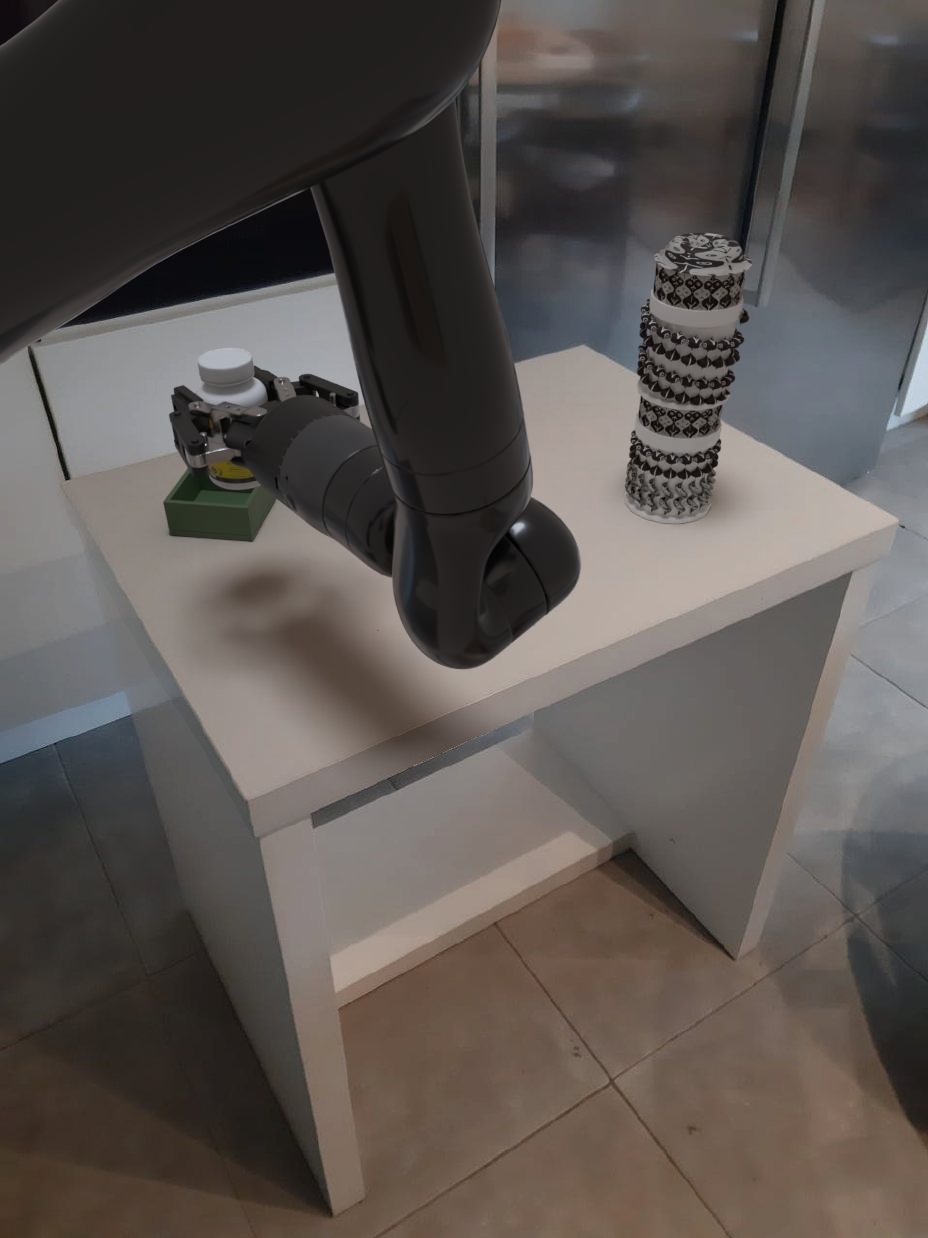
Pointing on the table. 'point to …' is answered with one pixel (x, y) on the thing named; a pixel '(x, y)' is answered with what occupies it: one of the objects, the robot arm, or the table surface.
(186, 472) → the basket
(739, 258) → the decorative candle
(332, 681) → the table surface
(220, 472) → the supplement bottle
